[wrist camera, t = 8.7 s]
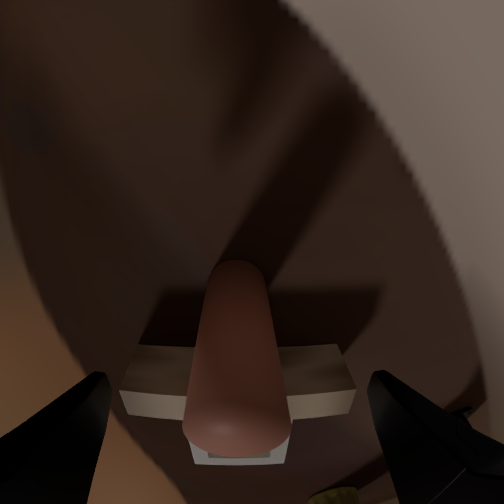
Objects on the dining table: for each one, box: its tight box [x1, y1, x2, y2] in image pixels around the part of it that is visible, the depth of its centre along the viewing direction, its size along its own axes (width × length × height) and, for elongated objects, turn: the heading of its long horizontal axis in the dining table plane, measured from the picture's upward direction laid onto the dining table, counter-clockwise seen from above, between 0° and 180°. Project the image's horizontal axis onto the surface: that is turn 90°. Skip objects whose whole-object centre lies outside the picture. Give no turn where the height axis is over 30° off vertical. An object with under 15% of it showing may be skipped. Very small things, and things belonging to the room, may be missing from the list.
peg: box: [182, 260, 292, 457], centre depth 11 cm, size 3×3×9 cm
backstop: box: [119, 344, 357, 420], centre depth 15 cm, size 12×2×4 cm, turn 89°
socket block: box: [189, 419, 293, 465], centre depth 17 cm, size 6×6×4 cm
